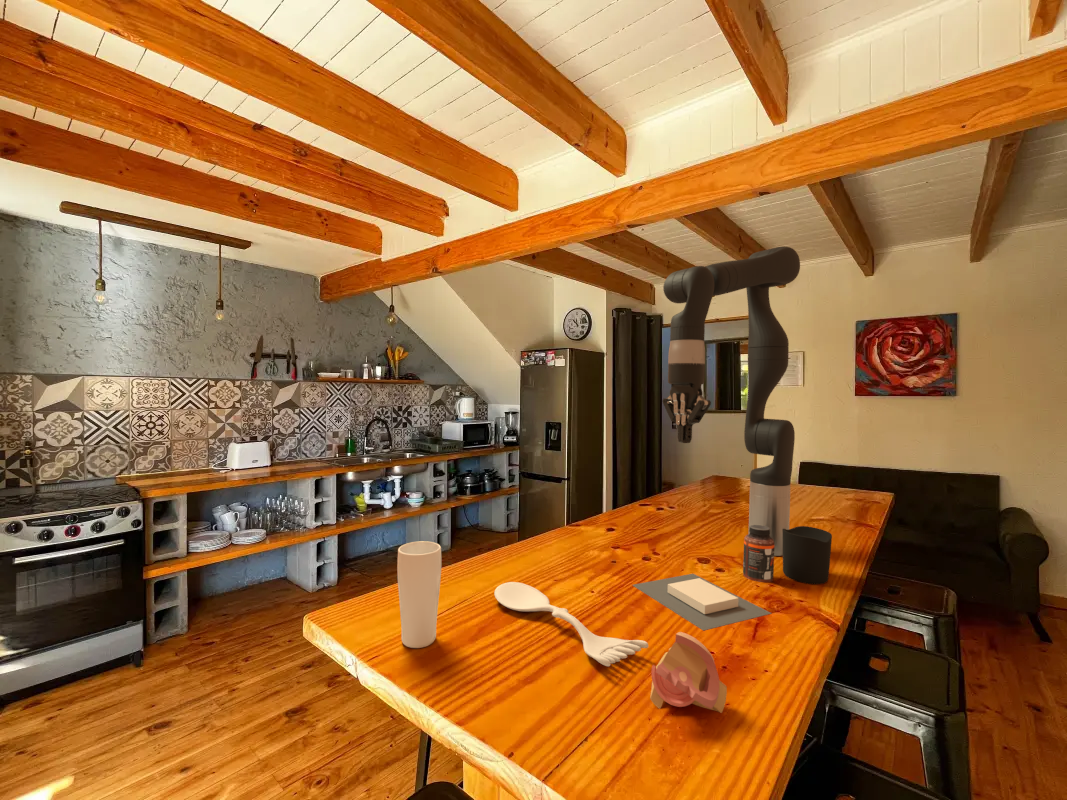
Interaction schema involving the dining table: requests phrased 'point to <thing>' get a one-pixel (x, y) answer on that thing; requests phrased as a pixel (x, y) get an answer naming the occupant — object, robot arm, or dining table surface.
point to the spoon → (594, 646)
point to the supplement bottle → (758, 554)
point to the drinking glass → (419, 591)
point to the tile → (702, 595)
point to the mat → (694, 616)
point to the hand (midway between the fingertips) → (684, 442)
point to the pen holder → (806, 554)
